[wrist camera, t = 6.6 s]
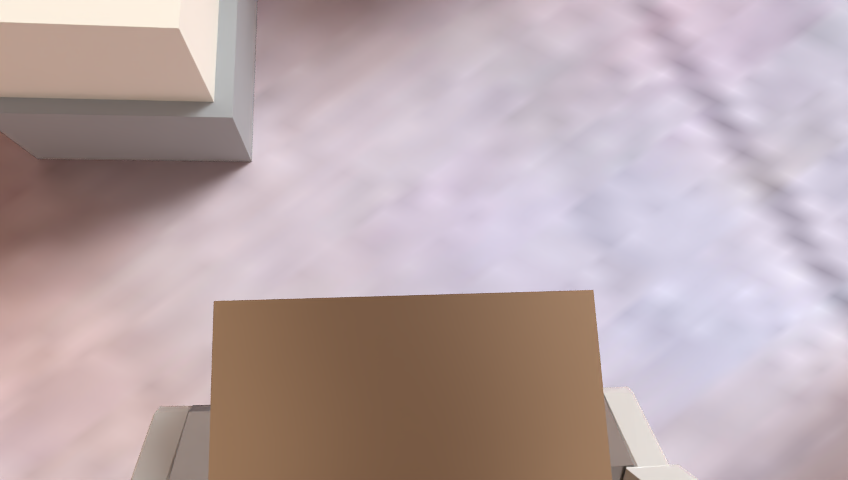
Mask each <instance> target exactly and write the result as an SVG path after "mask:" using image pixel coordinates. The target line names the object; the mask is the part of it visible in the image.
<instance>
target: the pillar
mask: <svg viewBox="0 0 848 480" xmlns="http://www.w3.org/2000/svg"><path fill="white" fill-rule="evenodd" d="M208 480H612V473H611V463H610V453H609V443H608V433H607V423H606V413H605V403H604V393H603V383H602V373H601V363H600V353H599V343H598V333H597V323H596V313H595V302H594V292H593V290H580V291H546V292H511V293H477V294H443V295H409V296H374V297H340V298H306V299H272V300H237V301H214V311H213V343H212V375H211V408H210V440H209V472H208Z"/></svg>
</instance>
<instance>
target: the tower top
mask: <svg viewBox="0 0 848 480" xmlns="http://www.w3.org/2000/svg"><path fill="white" fill-rule="evenodd" d="M218 14H219V0H0V97H20V98H63V99H106V100H150V101H193V102H214V92H215V72H216V53H217V33H218Z"/></svg>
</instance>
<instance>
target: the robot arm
mask: <svg viewBox="0 0 848 480" xmlns="http://www.w3.org/2000/svg"><path fill="white" fill-rule="evenodd" d="M603 393H604V403H605V413H606V423H607V433H608V443H609V453H610V463H611V473H612V480H698V479H697V478H696V477H694V476H693V475H692V474H690V473H689V472H688V471H686V470H685V469H684V468H682V467H681V466H679V465H669V463H668V461H667V459H666V457H665V455H664V453H663V451H662V449H661V447H660V445H659V443H658V441H657V439H656V437H655V435H654V433H653V431H652V429H651V427H650V425H649V423H648V421H647V419H646V417H645V415H644V413H643V411H642V409H641V407H640V405H639V403H638V401H637V399H636V397H635V395H634V393H633V391H632V390H631V389H629V388H628V387H610V388H603ZM210 408H211V405H193V406H160V407H159V409H158V410H157V411H156V412H155V414H154V415H153V418H152V421H151V424H150V427H149V429H148V432H147V435H146V438H145V441H144V444H143V446H142V449H141V452H140V455H139V458H138V461H137V463H136V466H135V469H134V472H133V475H132V478H131V480H208V472H209V440H210Z"/></svg>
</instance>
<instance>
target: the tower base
mask: <svg viewBox="0 0 848 480" xmlns="http://www.w3.org/2000/svg"><path fill="white" fill-rule="evenodd" d="M256 27H257V0H219V14H218V33H217V53H216V72H215V92H214V102H193V101H150V100H106V99H63V98H20V97H0V131H1V132H2V133H3V134H5V135H6V136H7V137H9V138H10V139H11V140H13V141H14V142H15V143H17V144H18V145H19V146H21V147H22V148H23V149H25V150H26V151H28V152H29V153H30V154H32V155H33V156H34V157H36V158H37V159H85V160H165V161H245V162H252V140H253V111H254V83H255V55H256Z"/></svg>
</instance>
